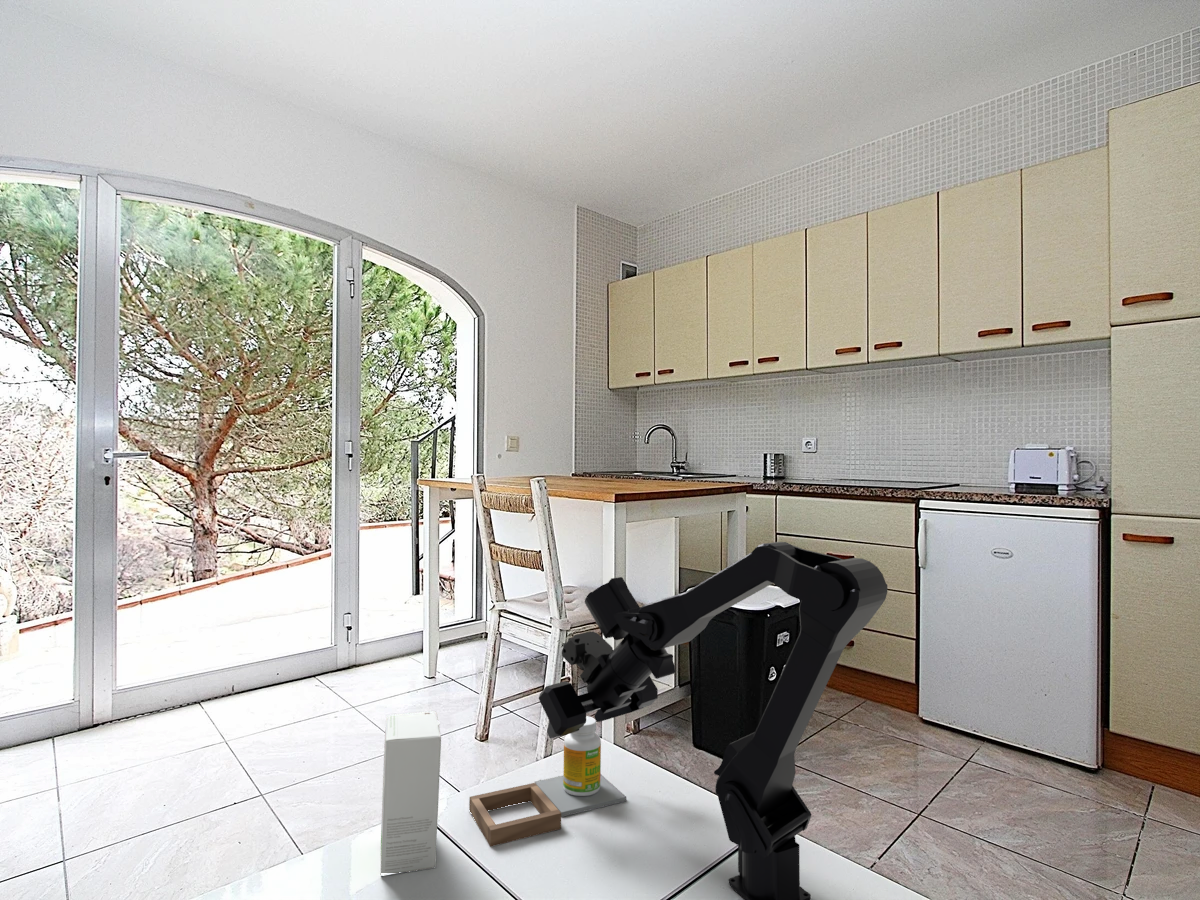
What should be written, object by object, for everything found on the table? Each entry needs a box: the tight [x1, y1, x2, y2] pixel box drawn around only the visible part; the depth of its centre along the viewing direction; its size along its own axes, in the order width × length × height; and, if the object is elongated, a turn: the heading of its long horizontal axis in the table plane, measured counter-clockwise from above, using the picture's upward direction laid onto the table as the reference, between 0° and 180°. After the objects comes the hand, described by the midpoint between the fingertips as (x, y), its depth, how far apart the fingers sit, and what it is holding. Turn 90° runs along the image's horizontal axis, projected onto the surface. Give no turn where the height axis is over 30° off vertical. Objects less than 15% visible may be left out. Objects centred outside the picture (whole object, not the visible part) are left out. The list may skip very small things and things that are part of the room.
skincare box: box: [380, 710, 442, 874], centre depth 79 cm, size 8×7×16 cm
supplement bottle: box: [562, 715, 602, 796], centre depth 95 cm, size 5×5×10 cm
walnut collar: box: [468, 782, 562, 848], centre depth 87 cm, size 10×10×2 cm
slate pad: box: [534, 774, 627, 818], centre depth 95 cm, size 10×10×1 cm
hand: (573, 726), depth 96 cm, fingers open, 9 cm apart
